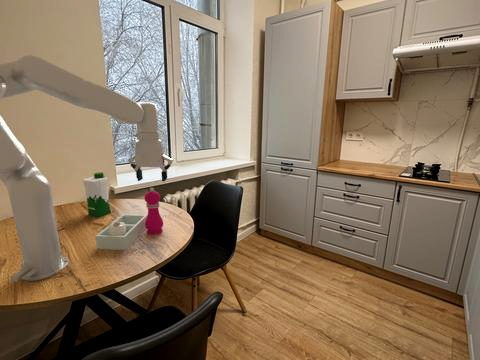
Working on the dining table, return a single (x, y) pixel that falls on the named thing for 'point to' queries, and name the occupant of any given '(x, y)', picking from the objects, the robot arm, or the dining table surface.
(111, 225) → the salt cellar
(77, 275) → the dining table surface
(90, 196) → the milk carton
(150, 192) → the pepper mill
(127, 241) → the grey divided tray
